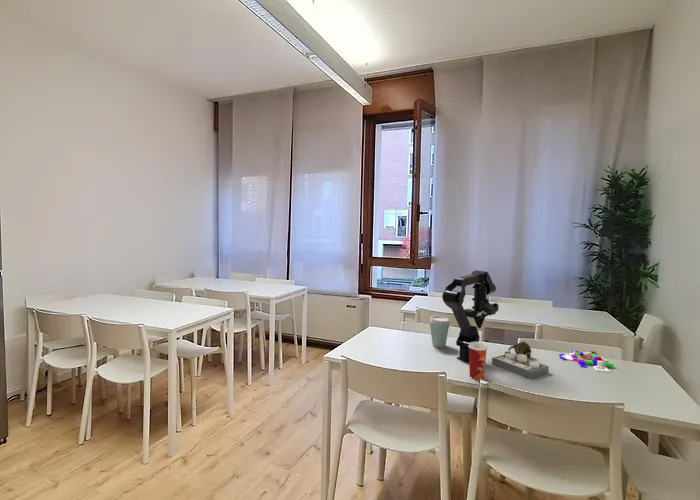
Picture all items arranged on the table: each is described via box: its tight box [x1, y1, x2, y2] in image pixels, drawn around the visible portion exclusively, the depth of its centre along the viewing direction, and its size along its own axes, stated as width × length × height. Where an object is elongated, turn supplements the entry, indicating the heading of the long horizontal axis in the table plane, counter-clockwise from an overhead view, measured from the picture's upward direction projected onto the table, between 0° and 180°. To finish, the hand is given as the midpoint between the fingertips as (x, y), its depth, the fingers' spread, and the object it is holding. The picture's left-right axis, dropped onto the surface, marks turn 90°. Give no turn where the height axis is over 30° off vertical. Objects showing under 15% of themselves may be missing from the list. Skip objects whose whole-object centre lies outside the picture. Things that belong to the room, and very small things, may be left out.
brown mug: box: [503, 341, 532, 358], centre depth 190 cm, size 7×13×10 cm
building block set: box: [558, 350, 614, 374], centre depth 186 cm, size 25×20×4 cm
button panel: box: [491, 352, 550, 380], centre depth 175 cm, size 13×19×3 cm
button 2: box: [529, 361, 540, 368], centre depth 170 cm, size 4×4×3 cm
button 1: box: [504, 352, 516, 360], centre depth 180 cm, size 4×4×3 cm
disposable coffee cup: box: [428, 315, 451, 348], centre depth 203 cm, size 11×11×15 cm
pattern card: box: [497, 357, 532, 370], centre depth 172 cm, size 4×15×1 cm, turn 32°
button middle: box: [516, 354, 528, 364], centre depth 175 cm, size 4×4×3 cm
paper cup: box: [468, 341, 488, 380], centre depth 164 cm, size 8×8×14 cm
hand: (479, 328), depth 191 cm, fingers closed
